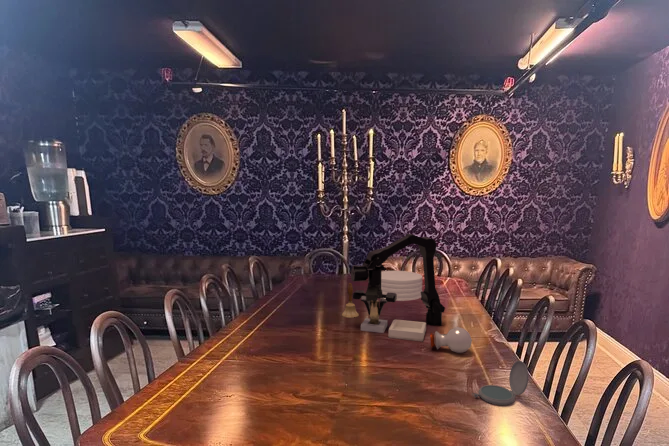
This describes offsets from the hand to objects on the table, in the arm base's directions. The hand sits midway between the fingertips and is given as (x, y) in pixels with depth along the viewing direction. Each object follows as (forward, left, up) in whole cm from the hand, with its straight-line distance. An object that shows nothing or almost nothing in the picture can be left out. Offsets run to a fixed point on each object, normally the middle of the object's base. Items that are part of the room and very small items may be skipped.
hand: (374, 315), depth 183 cm
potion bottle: (-33, +17, -6) cm, 38 cm away
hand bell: (+15, -15, -6) cm, 22 cm away
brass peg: (0, 0, -4) cm, 4 cm away
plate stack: (-1, -63, -6) cm, 63 cm away
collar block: (0, 0, -6) cm, 6 cm away
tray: (-15, +3, -6) cm, 16 cm away
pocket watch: (-47, +50, -6) cm, 69 cm away
